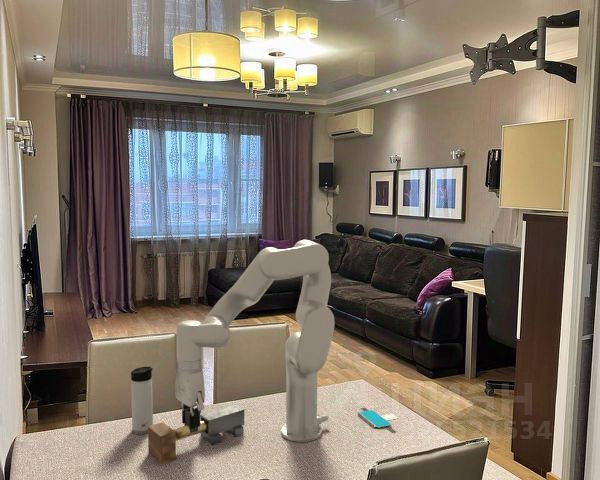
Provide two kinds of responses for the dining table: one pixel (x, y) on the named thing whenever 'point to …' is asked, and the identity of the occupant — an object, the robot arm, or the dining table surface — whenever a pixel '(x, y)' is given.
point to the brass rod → (186, 430)
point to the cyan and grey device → (377, 419)
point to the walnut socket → (162, 443)
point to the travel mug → (141, 399)
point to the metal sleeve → (223, 423)
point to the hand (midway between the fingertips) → (191, 424)
